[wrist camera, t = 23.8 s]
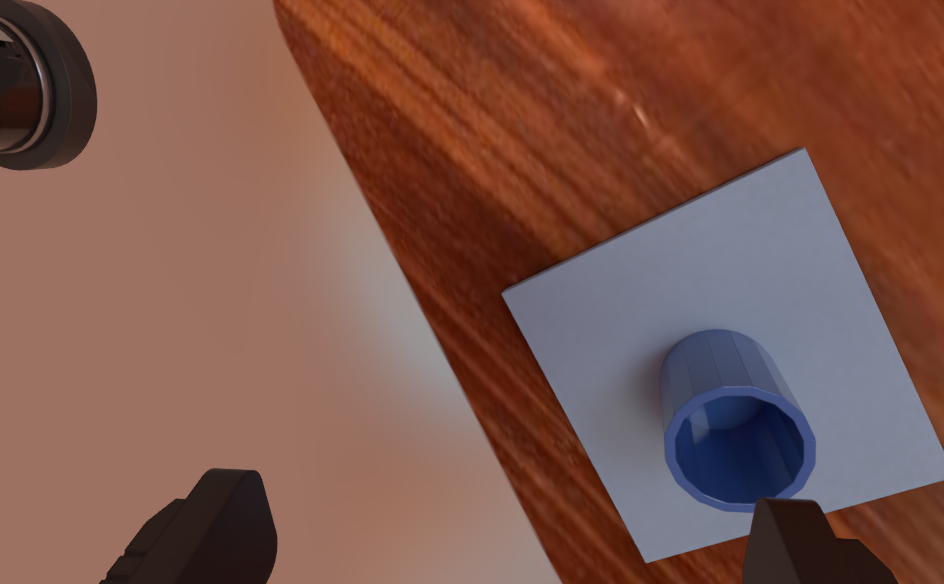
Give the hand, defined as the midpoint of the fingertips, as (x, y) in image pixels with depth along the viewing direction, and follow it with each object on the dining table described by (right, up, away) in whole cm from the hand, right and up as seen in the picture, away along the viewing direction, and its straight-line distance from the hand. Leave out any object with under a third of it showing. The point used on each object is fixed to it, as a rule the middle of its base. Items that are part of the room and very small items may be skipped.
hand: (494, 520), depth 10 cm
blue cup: (+14, -1, +25) cm, 29 cm away
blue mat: (+14, -1, +26) cm, 30 cm away
